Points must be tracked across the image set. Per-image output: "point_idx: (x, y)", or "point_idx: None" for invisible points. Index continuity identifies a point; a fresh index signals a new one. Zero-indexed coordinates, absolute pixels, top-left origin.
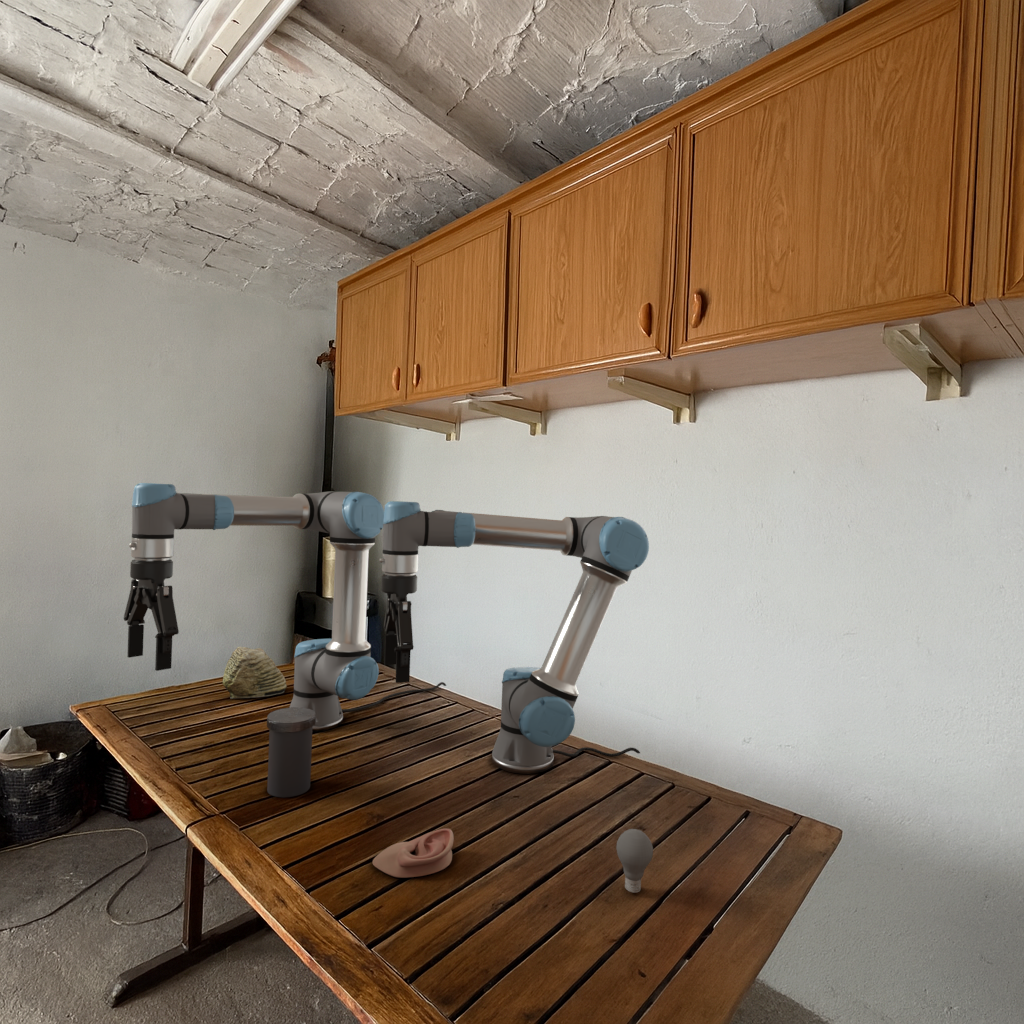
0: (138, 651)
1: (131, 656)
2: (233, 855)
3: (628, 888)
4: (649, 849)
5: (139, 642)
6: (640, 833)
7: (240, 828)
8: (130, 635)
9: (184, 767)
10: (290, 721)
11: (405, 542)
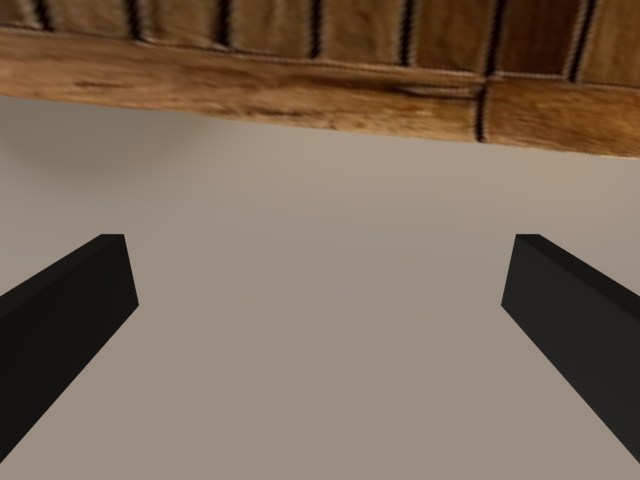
0: (113, 272)
1: (133, 295)
2: (628, 134)
3: None
4: None
5: (72, 299)
6: None
7: (569, 78)
8: (42, 403)
9: (222, 23)
10: None
11: None
